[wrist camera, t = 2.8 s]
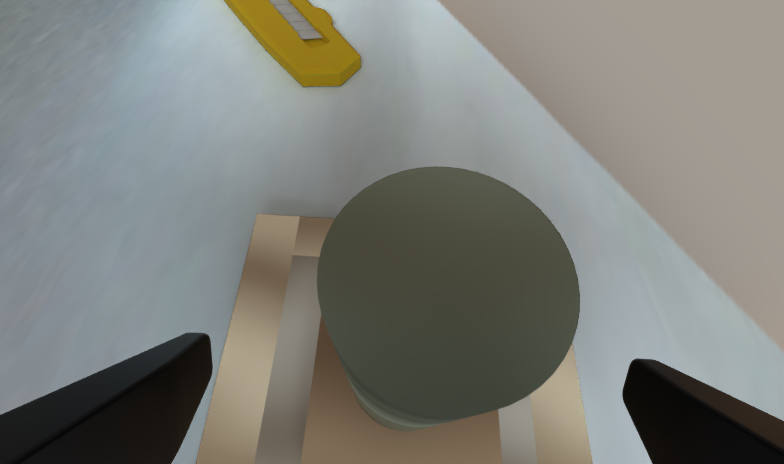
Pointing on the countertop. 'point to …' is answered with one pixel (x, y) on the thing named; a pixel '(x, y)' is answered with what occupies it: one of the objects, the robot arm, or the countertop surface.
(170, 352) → the robot arm
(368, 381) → the grey-green cylinder
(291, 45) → the utility knife
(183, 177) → the countertop surface
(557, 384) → the wooden frame
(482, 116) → the countertop surface
